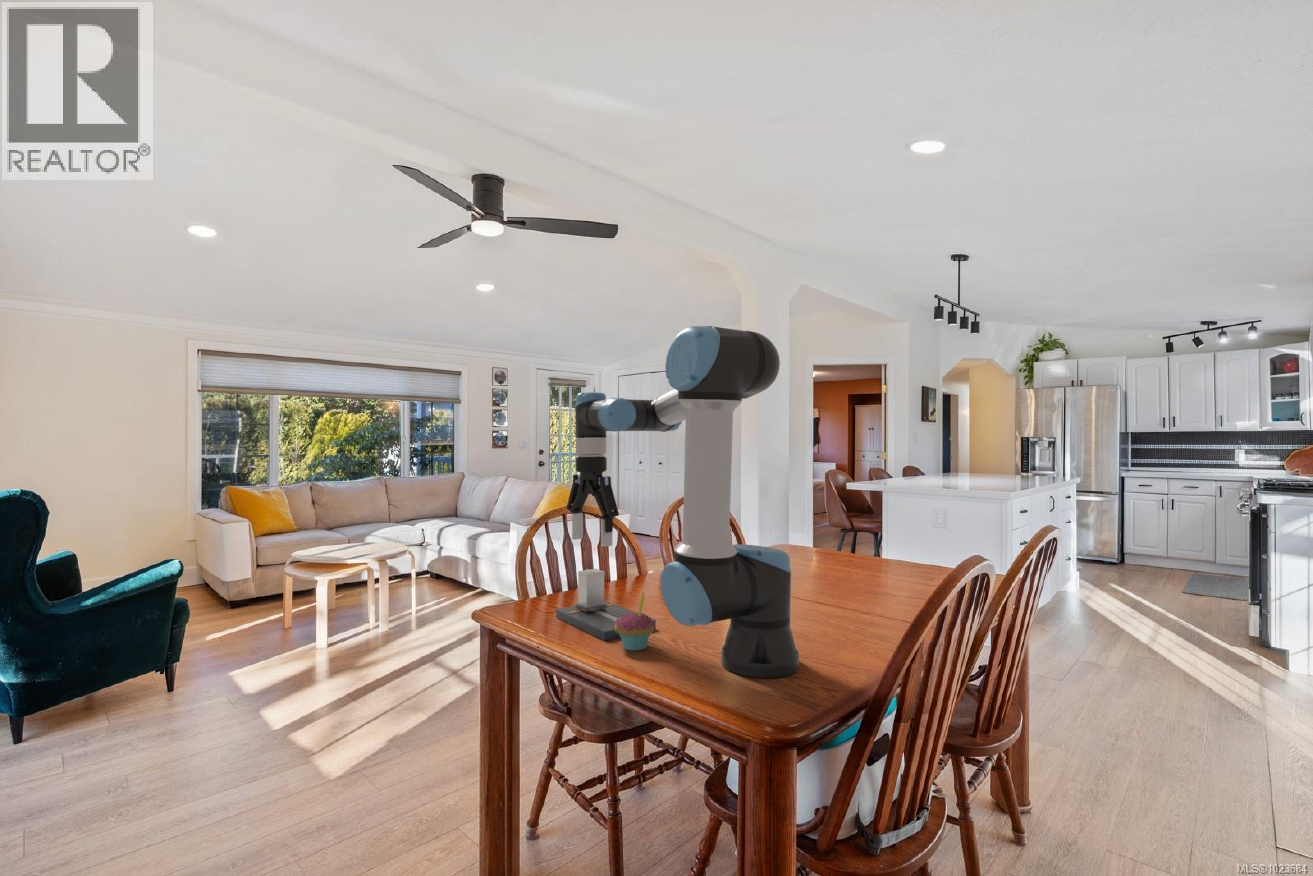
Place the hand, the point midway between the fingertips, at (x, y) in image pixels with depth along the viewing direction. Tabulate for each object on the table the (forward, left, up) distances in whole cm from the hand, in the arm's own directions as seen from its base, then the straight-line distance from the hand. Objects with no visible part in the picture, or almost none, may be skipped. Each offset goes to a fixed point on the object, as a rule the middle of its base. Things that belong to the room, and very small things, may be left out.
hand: (591, 542), depth 157 cm
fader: (0, 0, -16) cm, 16 cm away
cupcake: (-24, +4, -19) cm, 30 cm away
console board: (-6, 0, -18) cm, 19 cm away
